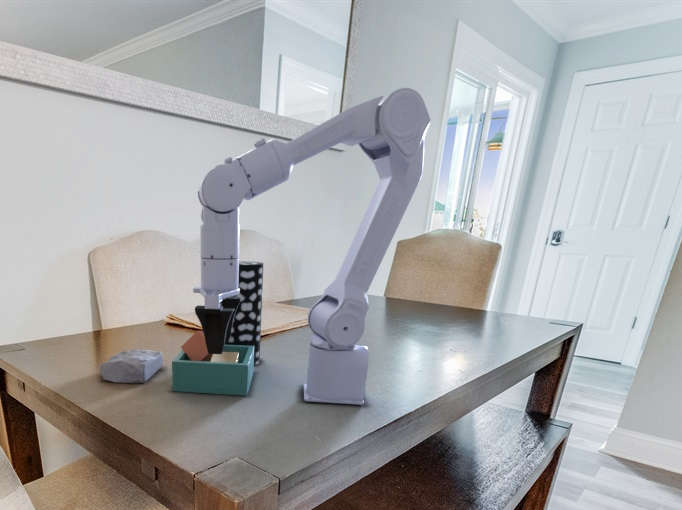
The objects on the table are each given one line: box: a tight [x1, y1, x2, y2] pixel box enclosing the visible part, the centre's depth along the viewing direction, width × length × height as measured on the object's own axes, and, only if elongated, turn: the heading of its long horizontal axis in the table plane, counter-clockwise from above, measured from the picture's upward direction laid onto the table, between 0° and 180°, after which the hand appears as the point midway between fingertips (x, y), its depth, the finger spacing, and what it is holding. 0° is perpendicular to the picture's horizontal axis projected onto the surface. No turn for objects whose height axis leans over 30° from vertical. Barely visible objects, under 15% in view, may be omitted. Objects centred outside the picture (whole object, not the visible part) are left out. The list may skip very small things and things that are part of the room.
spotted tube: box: [224, 260, 264, 366], centre depth 94 cm, size 8×8×20 cm
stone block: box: [99, 348, 164, 384], centre depth 89 cm, size 12×5×10 cm
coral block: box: [180, 330, 213, 362], centre depth 84 cm, size 4×4×4 cm
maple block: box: [210, 352, 239, 363], centre depth 81 cm, size 4×4×4 cm
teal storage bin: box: [171, 345, 255, 397], centre depth 84 cm, size 13×13×5 cm
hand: (219, 347), depth 73 cm, fingers open, 7 cm apart
